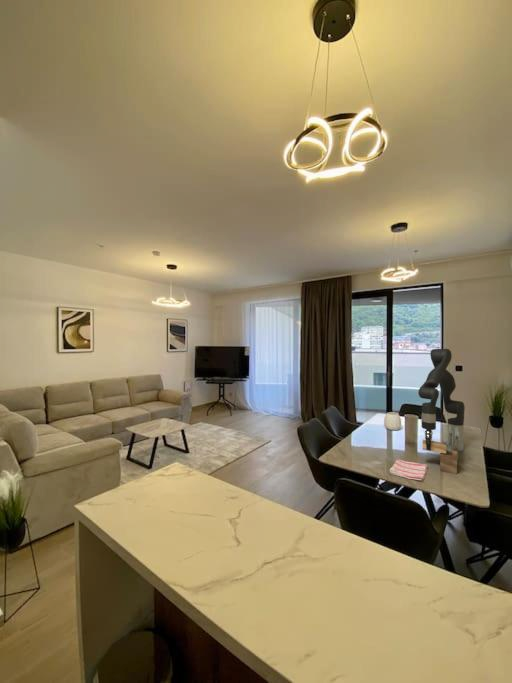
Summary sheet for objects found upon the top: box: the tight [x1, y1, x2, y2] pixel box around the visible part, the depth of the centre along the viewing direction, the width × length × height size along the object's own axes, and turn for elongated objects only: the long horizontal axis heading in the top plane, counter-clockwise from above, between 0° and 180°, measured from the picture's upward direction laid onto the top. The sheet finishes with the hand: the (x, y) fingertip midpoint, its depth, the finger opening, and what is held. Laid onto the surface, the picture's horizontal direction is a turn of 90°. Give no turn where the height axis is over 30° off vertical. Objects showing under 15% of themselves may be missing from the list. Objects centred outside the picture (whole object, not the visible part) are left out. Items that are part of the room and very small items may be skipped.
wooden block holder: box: [439, 446, 458, 475], centre depth 173 cm, size 11×8×14 cm
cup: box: [383, 411, 402, 431], centre depth 252 cm, size 13×13×14 cm
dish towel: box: [389, 458, 429, 483], centre depth 172 cm, size 17×23×4 cm
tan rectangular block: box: [422, 438, 447, 454], centre depth 177 cm, size 4×12×6 cm, turn 57°
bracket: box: [446, 424, 459, 462], centre depth 187 cm, size 28×7×20 cm, turn 148°
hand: (428, 448), depth 179 cm, fingers closed on tan rectangular block, 4 cm apart
